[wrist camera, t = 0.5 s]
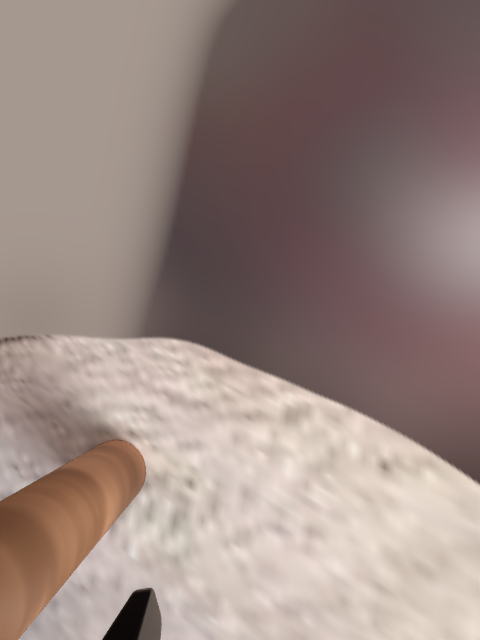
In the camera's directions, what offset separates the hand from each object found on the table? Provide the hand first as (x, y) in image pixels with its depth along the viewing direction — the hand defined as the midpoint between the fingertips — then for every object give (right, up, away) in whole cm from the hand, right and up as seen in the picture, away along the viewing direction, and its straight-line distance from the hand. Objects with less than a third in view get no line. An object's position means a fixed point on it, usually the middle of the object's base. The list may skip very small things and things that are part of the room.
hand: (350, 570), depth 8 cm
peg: (-11, -4, +15) cm, 19 cm away
